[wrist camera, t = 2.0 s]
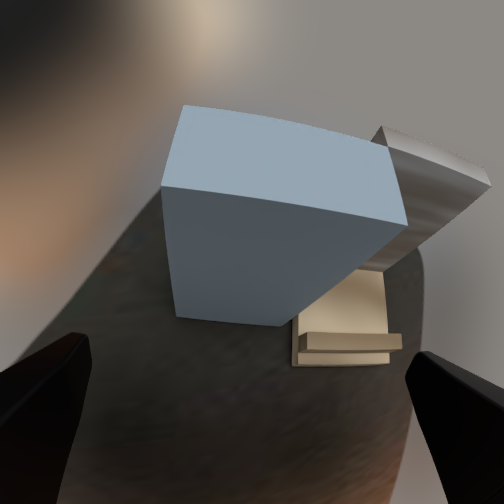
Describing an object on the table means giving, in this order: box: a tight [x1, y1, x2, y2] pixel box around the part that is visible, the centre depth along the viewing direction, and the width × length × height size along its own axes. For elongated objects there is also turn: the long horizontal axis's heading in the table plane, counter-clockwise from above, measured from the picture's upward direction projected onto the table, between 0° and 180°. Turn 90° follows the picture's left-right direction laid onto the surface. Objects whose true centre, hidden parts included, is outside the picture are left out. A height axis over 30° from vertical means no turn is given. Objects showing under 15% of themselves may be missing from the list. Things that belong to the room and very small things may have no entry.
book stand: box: [292, 125, 491, 366], centre depth 15 cm, size 9×6×12 cm
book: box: [161, 105, 408, 327], centre depth 14 cm, size 3×6×13 cm, turn 88°
